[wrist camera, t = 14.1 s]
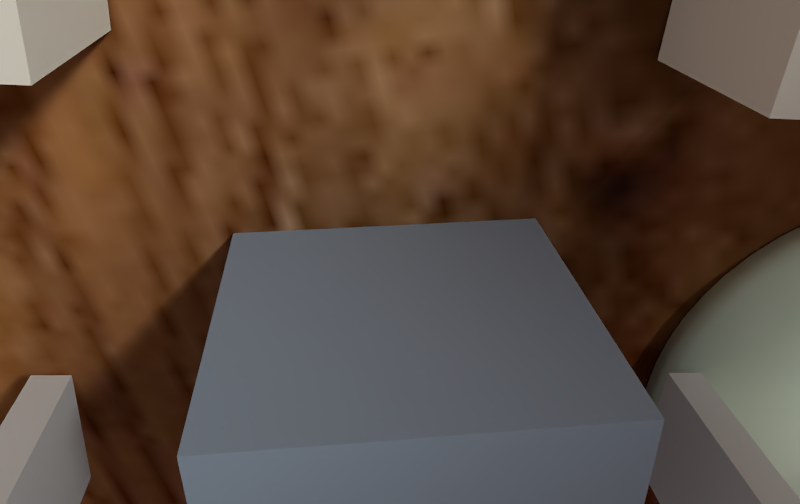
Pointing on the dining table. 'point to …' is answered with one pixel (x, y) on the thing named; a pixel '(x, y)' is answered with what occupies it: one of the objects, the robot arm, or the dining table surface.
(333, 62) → the dining table surface
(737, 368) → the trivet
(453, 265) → the painted block
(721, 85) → the channel
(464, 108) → the dining table surface
